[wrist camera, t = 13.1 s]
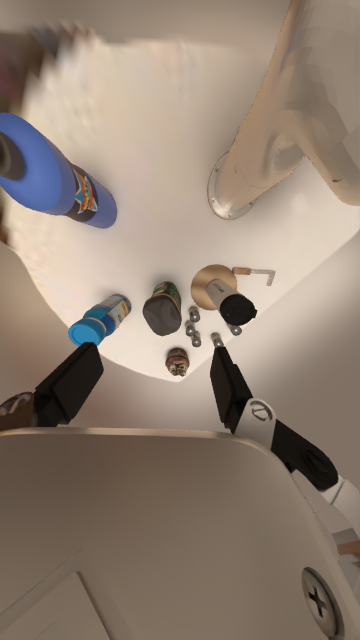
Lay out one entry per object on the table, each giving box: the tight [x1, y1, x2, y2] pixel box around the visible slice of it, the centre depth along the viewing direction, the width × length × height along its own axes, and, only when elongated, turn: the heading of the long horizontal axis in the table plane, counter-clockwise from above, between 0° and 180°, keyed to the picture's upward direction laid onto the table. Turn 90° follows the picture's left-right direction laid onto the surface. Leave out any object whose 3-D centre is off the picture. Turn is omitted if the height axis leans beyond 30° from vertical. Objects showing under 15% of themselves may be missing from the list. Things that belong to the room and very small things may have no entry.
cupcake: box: [165, 348, 190, 377], centre depth 53 cm, size 10×10×10 cm
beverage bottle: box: [68, 294, 131, 346], centre depth 39 cm, size 8×8×20 cm
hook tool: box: [232, 268, 276, 286], centre depth 42 cm, size 13×5×2 cm, turn 88°
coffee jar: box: [143, 282, 182, 336], centre depth 38 cm, size 10×8×19 cm
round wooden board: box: [191, 265, 237, 310], centre depth 45 cm, size 15×15×1 cm
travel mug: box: [206, 279, 257, 326], centre depth 35 cm, size 6×7×20 cm
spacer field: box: [185, 306, 242, 348], centre depth 48 cm, size 16×19×6 cm
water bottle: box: [0, 113, 117, 228], centre depth 24 cm, size 9×9×25 cm
